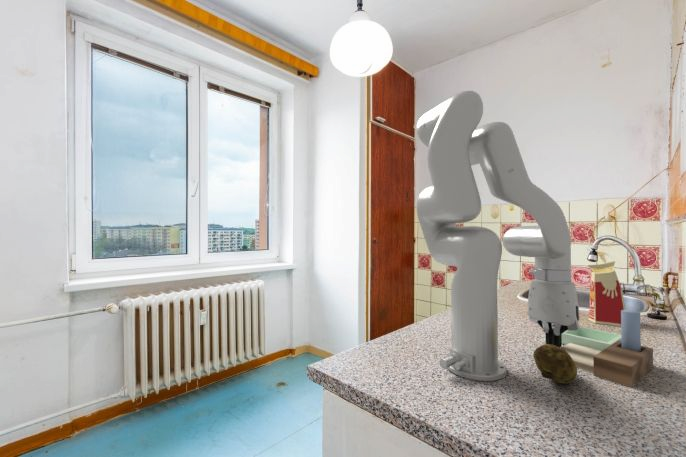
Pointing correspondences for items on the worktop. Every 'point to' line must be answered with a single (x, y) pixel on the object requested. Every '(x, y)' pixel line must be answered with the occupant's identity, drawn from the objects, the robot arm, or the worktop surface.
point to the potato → (555, 364)
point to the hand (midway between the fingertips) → (553, 348)
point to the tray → (590, 338)
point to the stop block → (623, 364)
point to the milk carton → (605, 295)
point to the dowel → (630, 330)
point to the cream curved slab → (582, 356)
